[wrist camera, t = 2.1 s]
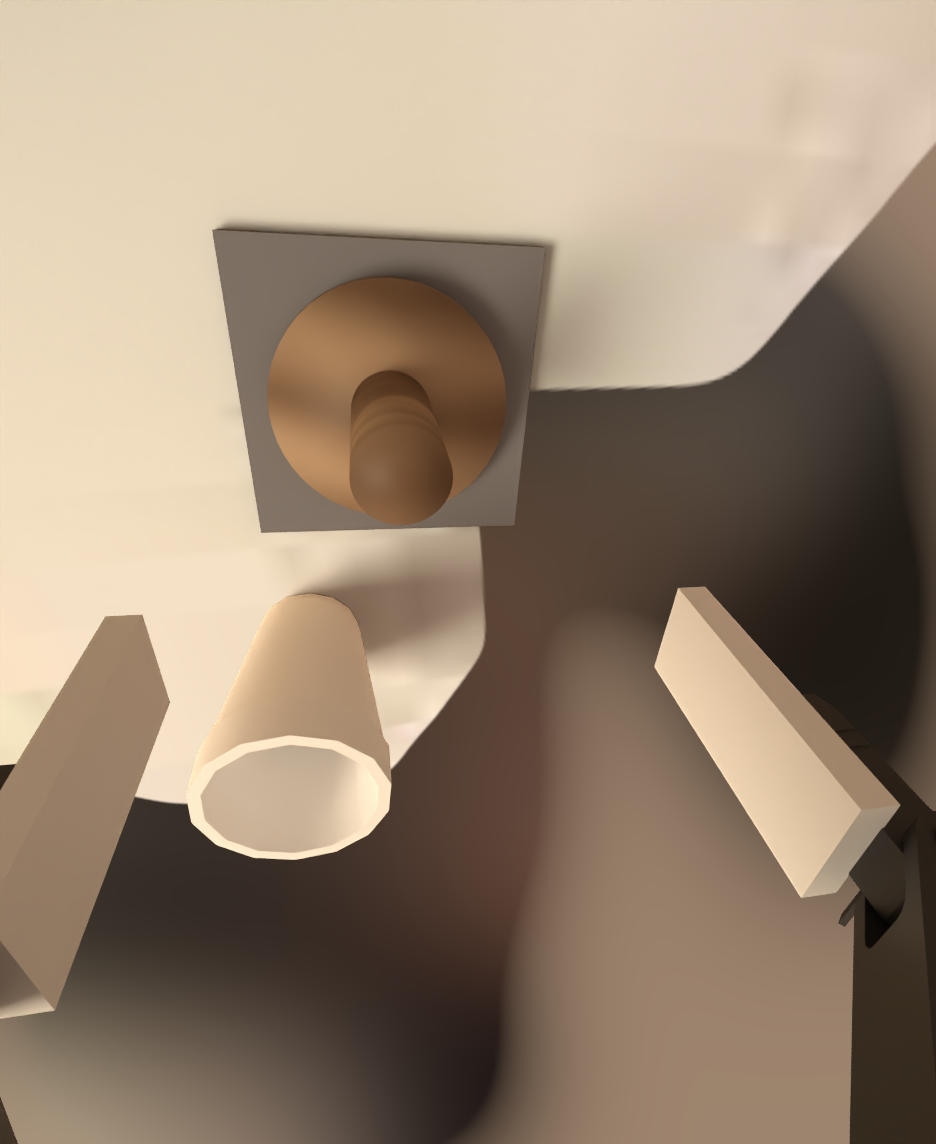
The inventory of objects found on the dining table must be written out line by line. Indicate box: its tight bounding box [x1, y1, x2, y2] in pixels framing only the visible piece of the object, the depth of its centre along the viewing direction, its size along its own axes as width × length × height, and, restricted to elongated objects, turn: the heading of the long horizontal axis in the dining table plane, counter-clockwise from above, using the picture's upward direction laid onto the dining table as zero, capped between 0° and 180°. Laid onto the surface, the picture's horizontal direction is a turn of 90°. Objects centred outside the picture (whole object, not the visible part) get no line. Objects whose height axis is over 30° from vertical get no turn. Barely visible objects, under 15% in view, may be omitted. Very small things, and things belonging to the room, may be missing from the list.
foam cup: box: [186, 593, 391, 860], centre depth 33 cm, size 10×9×13 cm
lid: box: [267, 276, 506, 525], centre depth 26 cm, size 12×12×10 cm
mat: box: [212, 229, 545, 533], centre depth 30 cm, size 15×15×1 cm
